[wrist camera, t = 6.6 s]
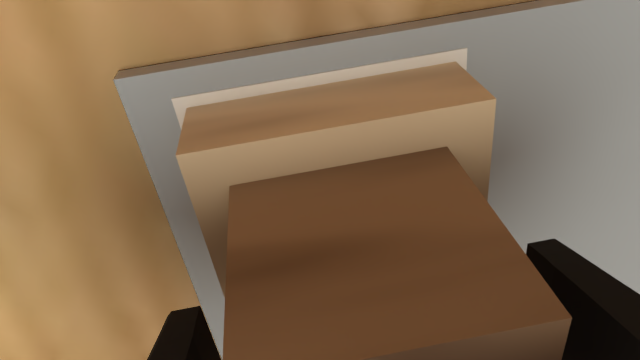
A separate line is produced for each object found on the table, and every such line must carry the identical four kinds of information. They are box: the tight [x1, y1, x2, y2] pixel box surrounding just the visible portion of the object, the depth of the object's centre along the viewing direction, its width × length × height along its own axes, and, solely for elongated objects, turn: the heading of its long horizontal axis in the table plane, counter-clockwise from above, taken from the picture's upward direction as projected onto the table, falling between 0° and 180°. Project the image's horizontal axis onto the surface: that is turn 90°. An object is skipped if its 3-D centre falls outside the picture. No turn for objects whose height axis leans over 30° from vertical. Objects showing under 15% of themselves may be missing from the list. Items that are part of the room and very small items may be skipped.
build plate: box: [113, 0, 640, 360], centre depth 16 cm, size 14×20×1 cm
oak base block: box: [176, 61, 496, 298], centre depth 13 cm, size 7×7×2 cm
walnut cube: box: [223, 147, 572, 360], centre depth 10 cm, size 5×5×5 cm
